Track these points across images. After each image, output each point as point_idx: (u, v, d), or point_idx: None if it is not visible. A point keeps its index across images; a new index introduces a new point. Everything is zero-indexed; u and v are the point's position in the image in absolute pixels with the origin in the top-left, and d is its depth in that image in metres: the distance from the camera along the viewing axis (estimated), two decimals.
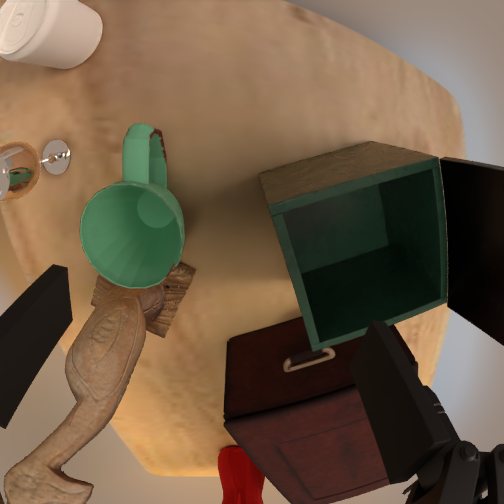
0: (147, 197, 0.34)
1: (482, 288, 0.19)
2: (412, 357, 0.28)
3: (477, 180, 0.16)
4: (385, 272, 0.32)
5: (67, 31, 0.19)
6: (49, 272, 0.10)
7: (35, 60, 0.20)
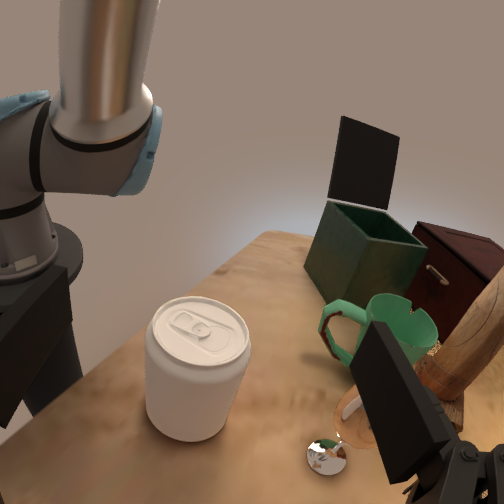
0: None
1: (375, 184, 0.54)
2: (415, 226, 0.55)
3: (338, 178, 0.51)
4: None
5: None
6: (49, 272, 0.10)
7: None
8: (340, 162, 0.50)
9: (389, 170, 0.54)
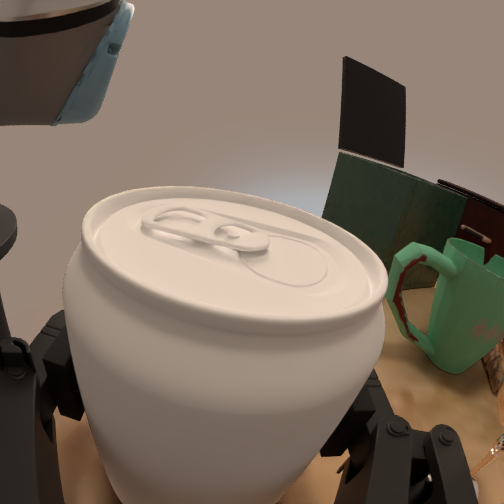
0: None
1: (389, 136, 0.43)
2: None
3: (349, 125, 0.39)
4: None
5: None
6: None
7: None
8: (349, 106, 0.39)
9: (400, 121, 0.43)
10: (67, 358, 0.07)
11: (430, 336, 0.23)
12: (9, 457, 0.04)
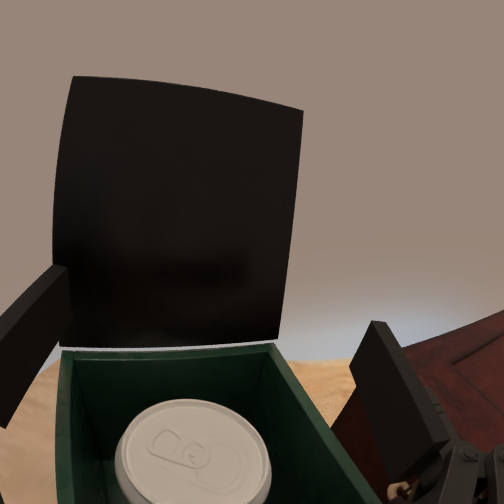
0: None
1: (223, 278, 0.18)
2: None
3: (71, 285, 0.14)
4: None
5: None
6: (49, 272, 0.10)
7: None
8: (68, 232, 0.14)
9: (272, 221, 0.18)
10: None
11: None
12: None
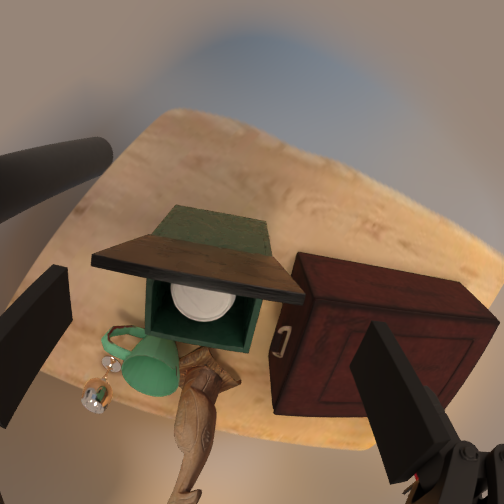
0: None
1: None
2: (313, 297, 0.36)
3: None
4: None
5: None
6: (49, 272, 0.10)
7: None
8: None
9: None
10: None
11: (145, 337, 0.52)
12: None
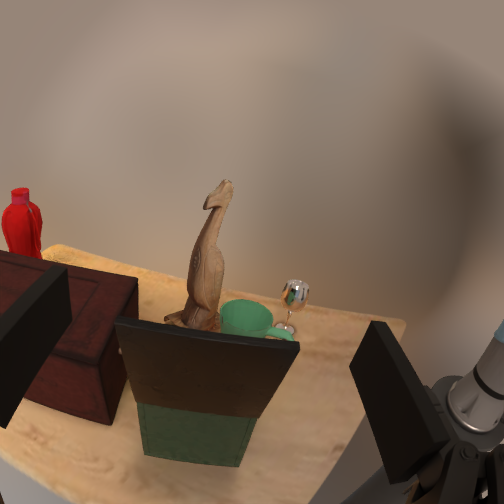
0: None
1: None
2: (99, 367, 0.33)
3: None
4: None
5: None
6: (49, 272, 0.10)
7: None
8: None
9: None
10: None
11: None
12: None
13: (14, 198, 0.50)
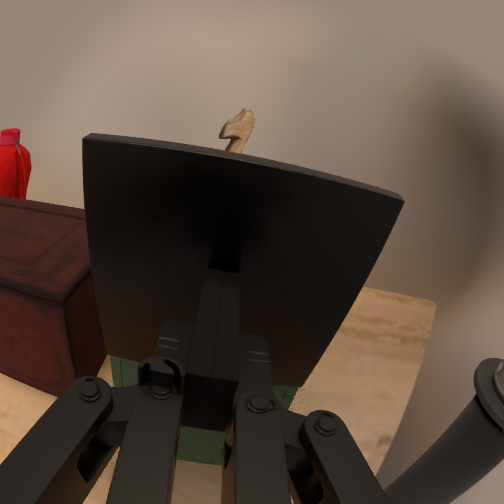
0: None
1: None
2: (64, 308, 0.23)
3: None
4: None
5: None
6: (210, 275, 0.13)
7: None
8: None
9: None
10: (212, 369, 0.08)
11: None
12: (136, 479, 0.05)
13: (2, 138, 0.41)
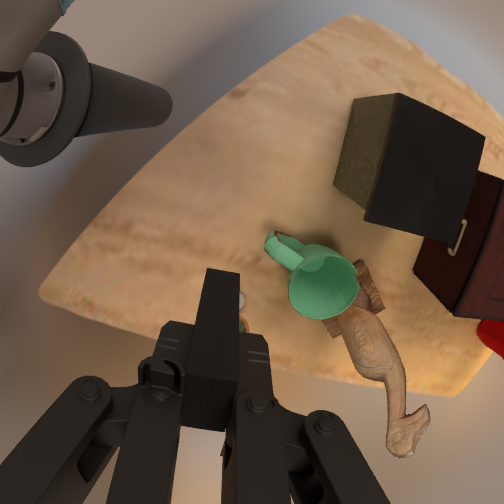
0: None
1: None
2: (499, 179, 0.31)
3: None
4: None
5: None
6: (210, 275, 0.13)
7: None
8: None
9: None
10: (212, 369, 0.08)
11: (298, 251, 0.47)
12: (136, 478, 0.05)
13: None
